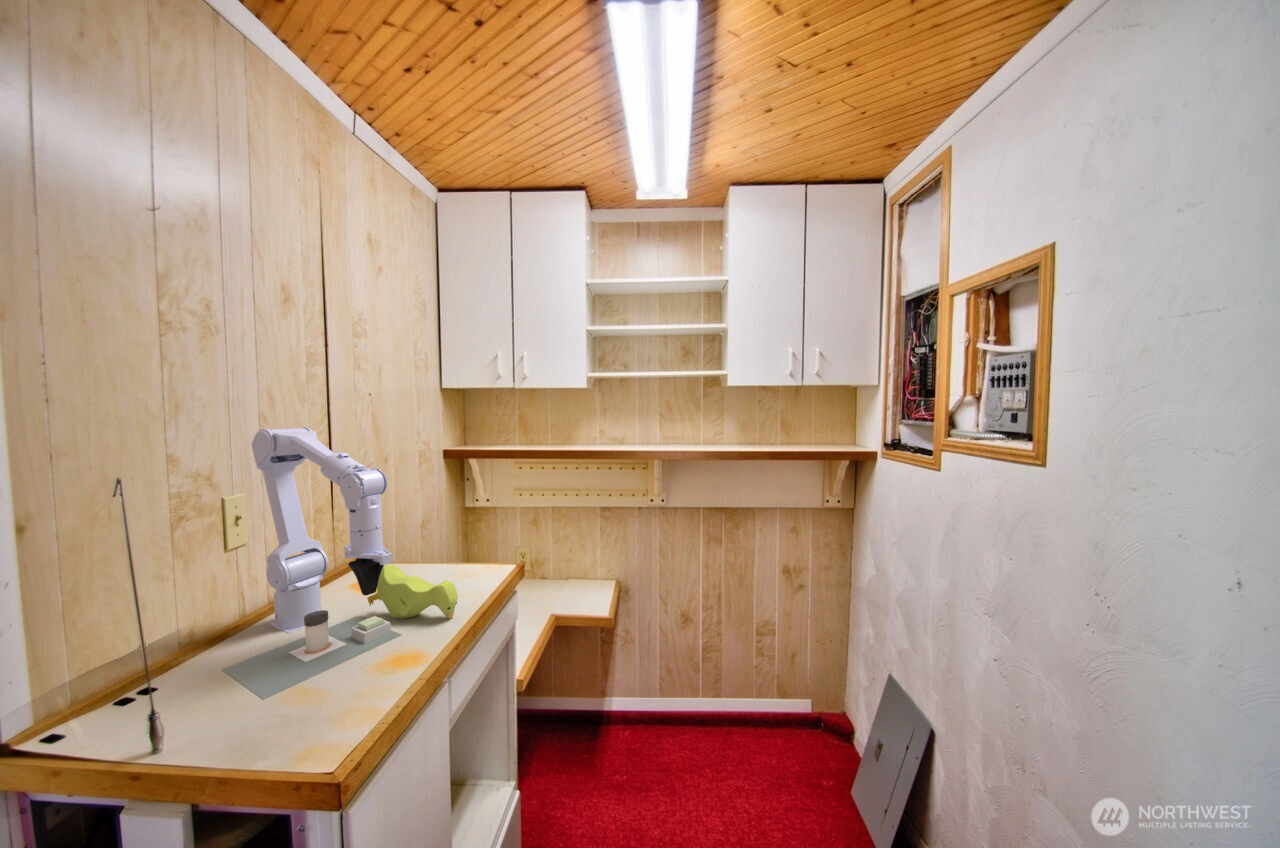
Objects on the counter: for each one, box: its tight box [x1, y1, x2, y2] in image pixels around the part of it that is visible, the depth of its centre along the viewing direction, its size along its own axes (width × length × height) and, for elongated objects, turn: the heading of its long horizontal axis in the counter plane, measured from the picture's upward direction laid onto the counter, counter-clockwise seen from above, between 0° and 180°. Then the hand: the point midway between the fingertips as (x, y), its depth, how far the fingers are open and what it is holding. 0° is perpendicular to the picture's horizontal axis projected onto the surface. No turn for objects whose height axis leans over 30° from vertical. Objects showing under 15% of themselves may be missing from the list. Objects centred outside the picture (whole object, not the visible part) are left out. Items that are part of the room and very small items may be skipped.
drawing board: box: [221, 616, 403, 701], centre depth 85 cm, size 18×23×2 cm
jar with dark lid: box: [304, 609, 329, 653], centre depth 85 cm, size 4×4×7 cm
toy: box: [367, 563, 459, 619], centre depth 99 cm, size 6×17×20 cm
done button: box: [358, 615, 385, 631], centre depth 90 cm, size 3×3×2 cm
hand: (369, 593), depth 90 cm, fingers closed
